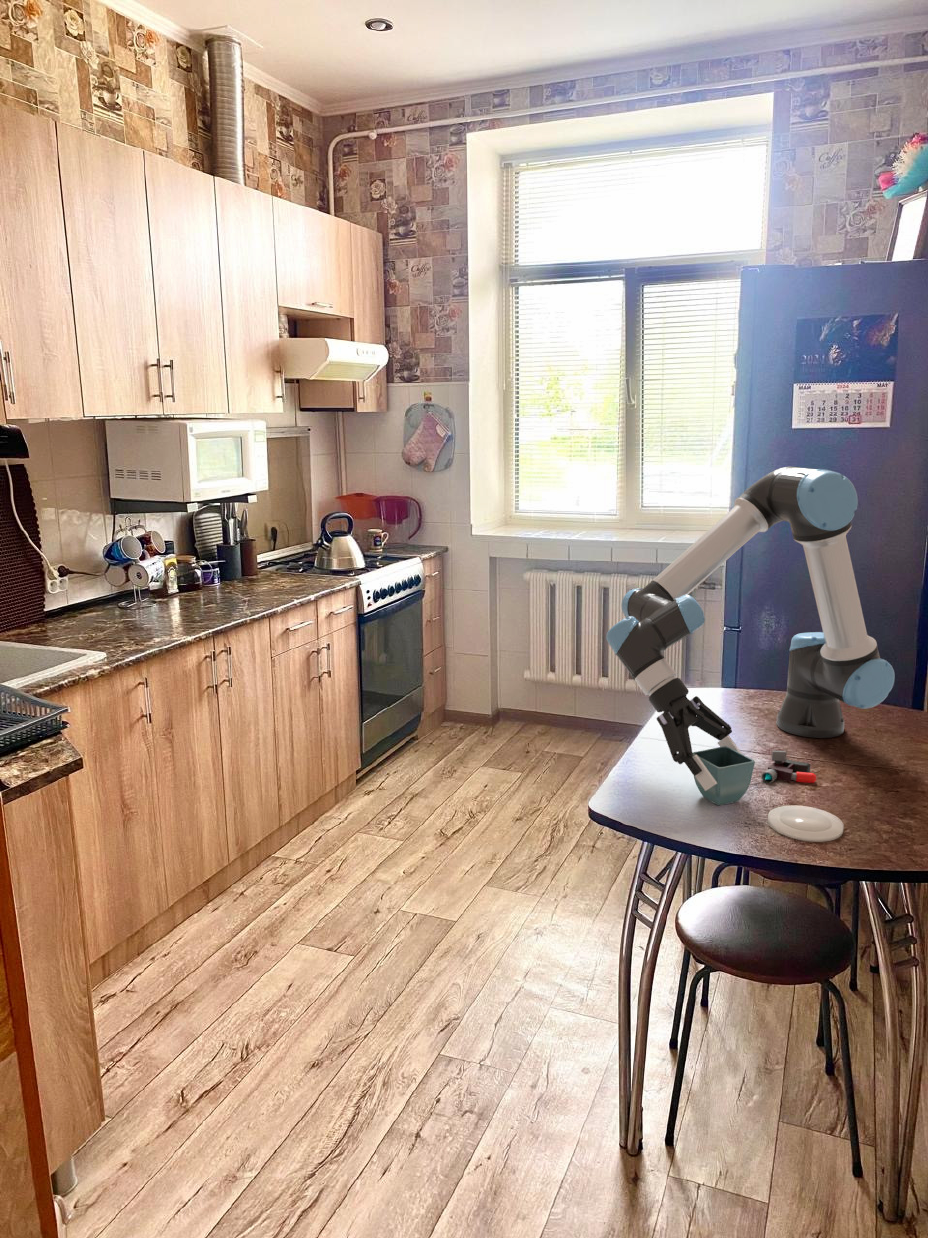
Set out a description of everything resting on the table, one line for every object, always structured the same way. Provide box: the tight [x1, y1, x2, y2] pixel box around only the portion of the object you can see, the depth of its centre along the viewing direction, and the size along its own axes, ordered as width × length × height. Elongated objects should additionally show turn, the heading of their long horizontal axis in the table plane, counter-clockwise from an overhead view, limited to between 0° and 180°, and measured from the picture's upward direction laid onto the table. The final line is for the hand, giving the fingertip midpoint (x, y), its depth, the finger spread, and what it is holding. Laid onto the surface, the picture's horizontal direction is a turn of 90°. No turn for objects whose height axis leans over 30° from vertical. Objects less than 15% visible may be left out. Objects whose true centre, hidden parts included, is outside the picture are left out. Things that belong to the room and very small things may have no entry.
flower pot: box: [692, 746, 756, 806], centre depth 181 cm, size 9×9×9 cm
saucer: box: [767, 804, 844, 843], centre depth 170 cm, size 13×13×1 cm
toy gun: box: [761, 750, 817, 784], centre depth 191 cm, size 10×12×5 cm
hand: (727, 776), depth 179 cm, fingers open, 13 cm apart
